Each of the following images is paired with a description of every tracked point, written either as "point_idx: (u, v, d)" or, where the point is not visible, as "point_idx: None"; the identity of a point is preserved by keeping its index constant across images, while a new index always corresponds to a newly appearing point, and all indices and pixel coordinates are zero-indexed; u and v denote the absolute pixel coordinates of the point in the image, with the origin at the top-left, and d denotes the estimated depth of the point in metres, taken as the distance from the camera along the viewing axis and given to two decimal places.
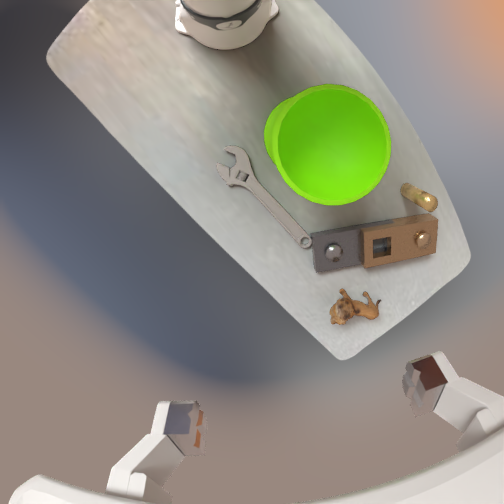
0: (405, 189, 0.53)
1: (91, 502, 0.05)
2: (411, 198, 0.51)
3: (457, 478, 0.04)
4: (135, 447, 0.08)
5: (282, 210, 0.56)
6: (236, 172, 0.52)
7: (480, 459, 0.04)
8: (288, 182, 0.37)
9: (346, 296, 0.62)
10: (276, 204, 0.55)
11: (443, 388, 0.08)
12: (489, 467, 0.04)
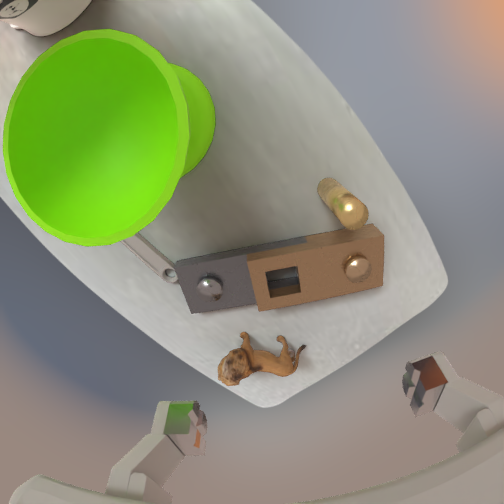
0: (321, 188, 0.35)
1: (91, 502, 0.05)
2: (327, 204, 0.33)
3: (457, 478, 0.04)
4: (135, 447, 0.08)
5: None
6: None
7: (480, 459, 0.04)
8: (31, 215, 0.19)
9: (245, 345, 0.45)
10: None
11: (443, 388, 0.08)
12: (489, 467, 0.04)
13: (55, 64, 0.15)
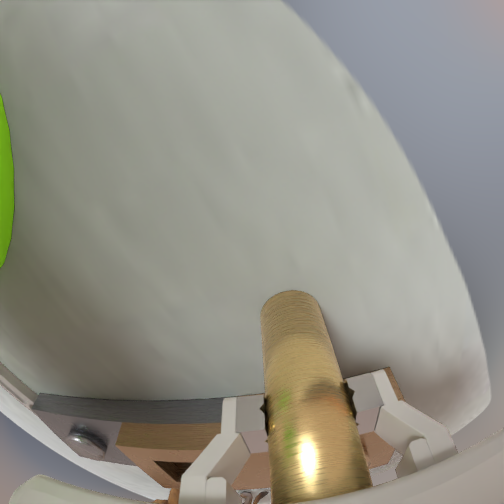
0: (264, 332, 0.13)
1: (91, 502, 0.05)
2: None
3: (457, 478, 0.04)
4: (206, 450, 0.08)
5: None
6: None
7: (480, 459, 0.04)
8: None
9: (171, 499, 0.22)
10: None
11: (379, 410, 0.08)
12: (489, 467, 0.04)
13: None
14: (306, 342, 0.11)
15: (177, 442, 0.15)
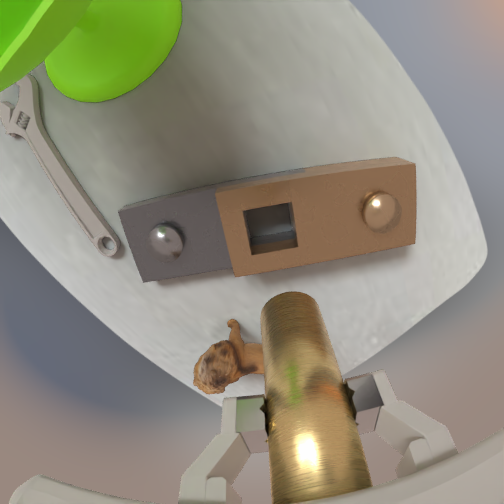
0: (264, 333, 0.13)
1: (91, 502, 0.05)
2: None
3: (457, 478, 0.04)
4: (206, 450, 0.08)
5: (68, 181, 0.26)
6: (17, 114, 0.22)
7: (480, 459, 0.04)
8: None
9: (232, 336, 0.32)
10: (60, 170, 0.25)
11: (379, 410, 0.08)
12: (489, 467, 0.04)
13: None
14: (306, 343, 0.11)
15: (267, 182, 0.24)
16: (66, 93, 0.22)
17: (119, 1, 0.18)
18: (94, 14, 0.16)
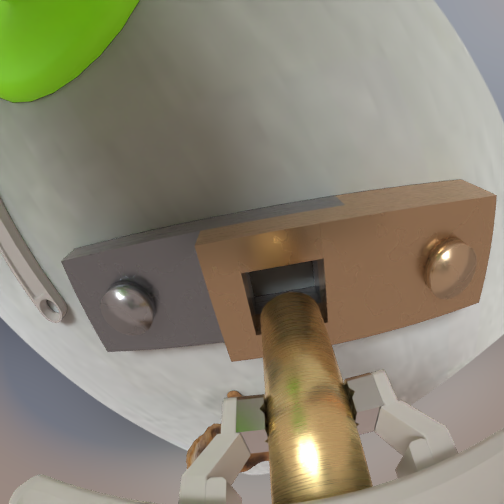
0: (264, 333, 0.13)
1: (91, 502, 0.05)
2: None
3: (457, 478, 0.04)
4: (206, 450, 0.08)
5: (1, 224, 0.16)
6: None
7: (480, 459, 0.04)
8: None
9: None
10: None
11: (379, 410, 0.08)
12: (489, 467, 0.04)
13: None
14: (306, 344, 0.11)
15: (283, 225, 0.14)
16: None
17: None
18: None
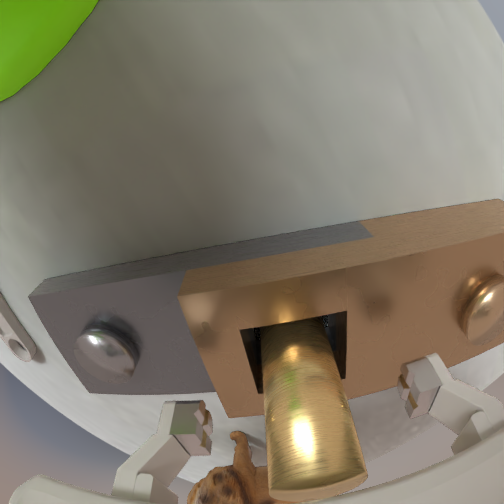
0: None
1: (91, 502, 0.05)
2: None
3: (457, 478, 0.04)
4: (141, 447, 0.08)
5: None
6: None
7: (480, 459, 0.04)
8: None
9: (238, 461, 0.18)
10: None
11: (438, 390, 0.08)
12: (489, 467, 0.04)
13: None
14: (301, 326, 0.12)
15: (296, 268, 0.11)
16: None
17: None
18: None
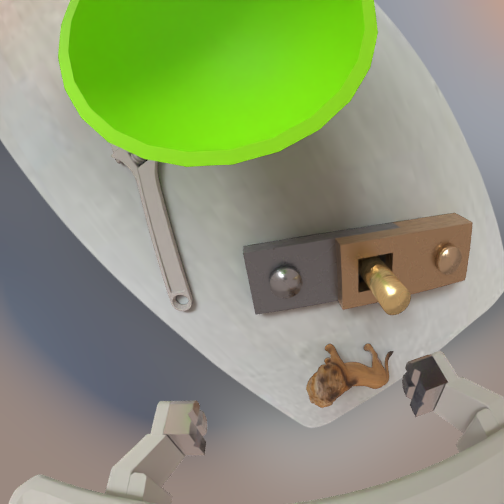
0: (358, 260, 0.32)
1: (91, 502, 0.05)
2: (365, 280, 0.30)
3: (457, 478, 0.04)
4: (135, 447, 0.08)
5: (169, 240, 0.32)
6: None
7: (480, 459, 0.04)
8: (87, 116, 0.12)
9: (334, 358, 0.37)
10: (164, 226, 0.32)
11: (443, 388, 0.08)
12: (489, 467, 0.04)
13: None
14: (377, 259, 0.30)
15: (377, 236, 0.30)
16: None
17: None
18: None
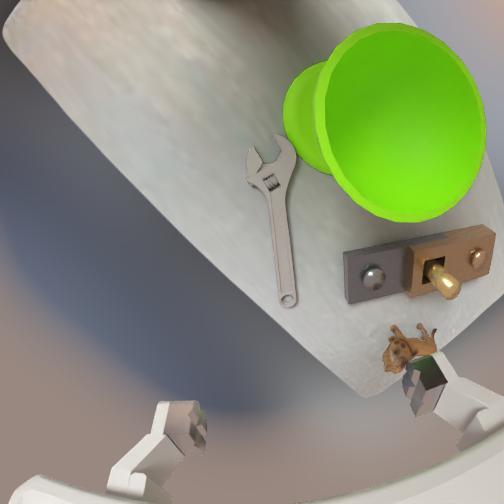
0: None
1: (91, 502, 0.05)
2: (427, 276, 0.39)
3: (457, 478, 0.04)
4: (135, 447, 0.08)
5: (288, 251, 0.41)
6: (268, 173, 0.36)
7: (480, 459, 0.04)
8: (341, 181, 0.20)
9: (400, 335, 0.46)
10: (286, 241, 0.40)
11: (443, 388, 0.08)
12: (489, 467, 0.04)
13: (376, 38, 0.16)
14: (434, 261, 0.39)
15: (436, 245, 0.38)
16: (313, 163, 0.36)
17: None
18: None
